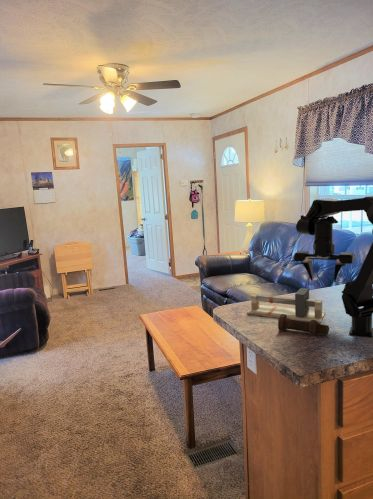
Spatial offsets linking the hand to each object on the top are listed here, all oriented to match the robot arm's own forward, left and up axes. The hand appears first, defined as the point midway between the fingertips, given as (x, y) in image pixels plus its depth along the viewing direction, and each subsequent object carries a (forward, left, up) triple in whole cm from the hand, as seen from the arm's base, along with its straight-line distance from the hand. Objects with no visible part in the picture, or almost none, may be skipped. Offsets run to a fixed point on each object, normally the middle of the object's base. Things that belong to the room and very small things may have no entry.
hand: (323, 281), depth 129 cm
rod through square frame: (0, +13, -13) cm, 18 cm away
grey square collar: (0, +7, -13) cm, 15 cm away
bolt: (-15, +3, -14) cm, 21 cm away
